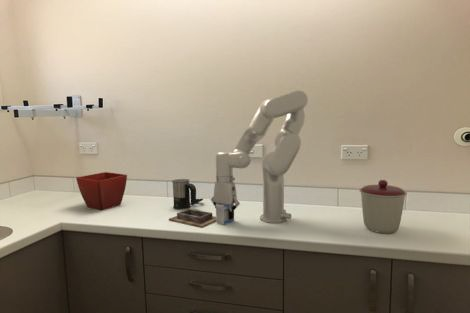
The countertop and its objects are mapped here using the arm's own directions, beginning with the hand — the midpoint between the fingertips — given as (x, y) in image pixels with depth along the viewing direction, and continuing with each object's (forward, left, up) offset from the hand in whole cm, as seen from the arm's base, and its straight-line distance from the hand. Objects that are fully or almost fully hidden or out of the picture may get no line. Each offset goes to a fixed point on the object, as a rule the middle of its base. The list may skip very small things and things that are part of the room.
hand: (225, 217), depth 155 cm
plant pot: (+73, +12, -2) cm, 74 cm away
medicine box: (0, 0, -2) cm, 2 cm away
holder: (+14, +5, -2) cm, 15 cm away
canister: (-62, -26, -2) cm, 67 cm away
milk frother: (+33, -12, -2) cm, 35 cm away
